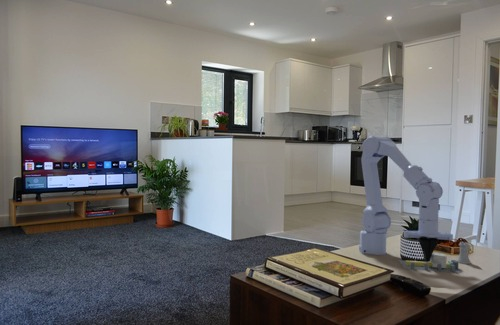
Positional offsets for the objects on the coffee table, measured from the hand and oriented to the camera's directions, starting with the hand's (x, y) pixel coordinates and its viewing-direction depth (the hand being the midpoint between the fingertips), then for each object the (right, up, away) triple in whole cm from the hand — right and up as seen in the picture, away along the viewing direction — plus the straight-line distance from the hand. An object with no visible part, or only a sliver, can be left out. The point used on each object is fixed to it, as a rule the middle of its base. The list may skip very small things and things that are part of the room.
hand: (427, 260), depth 121 cm
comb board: (0, -3, 0) cm, 3 cm away
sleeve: (+3, -2, -1) cm, 4 cm away
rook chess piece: (+15, -4, +6) cm, 17 cm away
